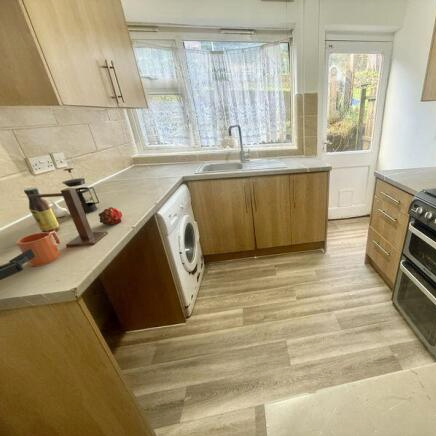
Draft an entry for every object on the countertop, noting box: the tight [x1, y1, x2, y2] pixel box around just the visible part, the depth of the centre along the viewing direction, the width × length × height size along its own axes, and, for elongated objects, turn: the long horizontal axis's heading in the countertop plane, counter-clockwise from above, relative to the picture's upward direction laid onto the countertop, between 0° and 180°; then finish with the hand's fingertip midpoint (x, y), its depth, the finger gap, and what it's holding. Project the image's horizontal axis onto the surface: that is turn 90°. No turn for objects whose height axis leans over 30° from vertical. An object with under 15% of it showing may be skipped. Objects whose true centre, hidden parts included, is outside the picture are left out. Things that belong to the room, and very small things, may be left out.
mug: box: [16, 231, 61, 267], centre depth 87 cm, size 12×8×9 cm, turn 7°
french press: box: [62, 167, 100, 215], centre depth 126 cm, size 12×9×23 cm
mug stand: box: [26, 187, 109, 249], centre depth 95 cm, size 19×10×22 cm, turn 97°
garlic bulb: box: [51, 200, 69, 219], centre depth 124 cm, size 6×6×8 cm
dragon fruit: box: [98, 206, 123, 226], centre depth 114 cm, size 8×8×12 cm
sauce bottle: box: [23, 187, 61, 233], centre depth 105 cm, size 7×6×20 cm
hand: (7, 254), depth 75 cm, fingers open, 13 cm apart
